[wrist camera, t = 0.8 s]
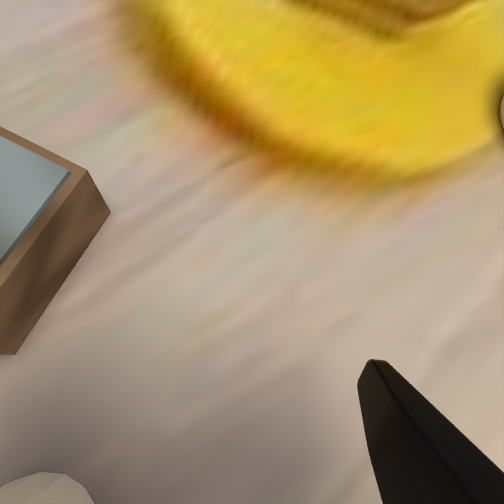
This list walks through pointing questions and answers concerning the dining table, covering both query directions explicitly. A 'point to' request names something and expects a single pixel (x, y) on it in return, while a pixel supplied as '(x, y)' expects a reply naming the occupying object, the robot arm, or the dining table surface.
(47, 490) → the shot glass
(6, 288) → the walnut plinth
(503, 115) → the ramekin
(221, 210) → the dining table surface
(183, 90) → the dining table surface
